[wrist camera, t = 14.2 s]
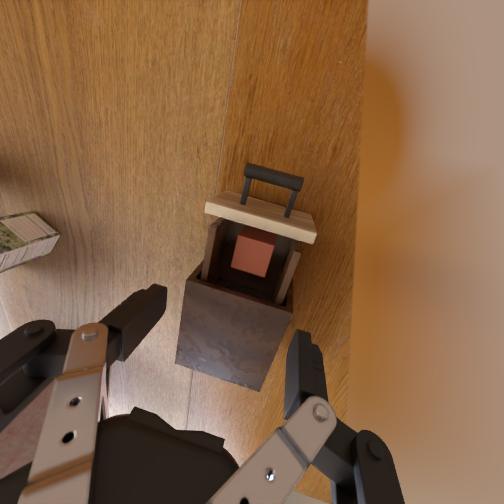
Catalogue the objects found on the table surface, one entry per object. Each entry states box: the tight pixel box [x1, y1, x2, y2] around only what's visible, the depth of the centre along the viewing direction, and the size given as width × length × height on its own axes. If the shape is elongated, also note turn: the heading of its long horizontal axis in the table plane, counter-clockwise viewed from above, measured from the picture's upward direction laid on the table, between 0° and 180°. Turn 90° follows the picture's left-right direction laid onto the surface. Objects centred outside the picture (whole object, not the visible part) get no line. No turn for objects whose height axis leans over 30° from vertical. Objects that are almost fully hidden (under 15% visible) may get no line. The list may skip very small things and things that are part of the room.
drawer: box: [201, 163, 317, 305], centre depth 27 cm, size 18×11×8 cm, turn 166°
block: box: [231, 225, 277, 277], centre depth 28 cm, size 4×4×4 cm
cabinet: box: [175, 260, 293, 392], centre depth 32 cm, size 15×13×10 cm
